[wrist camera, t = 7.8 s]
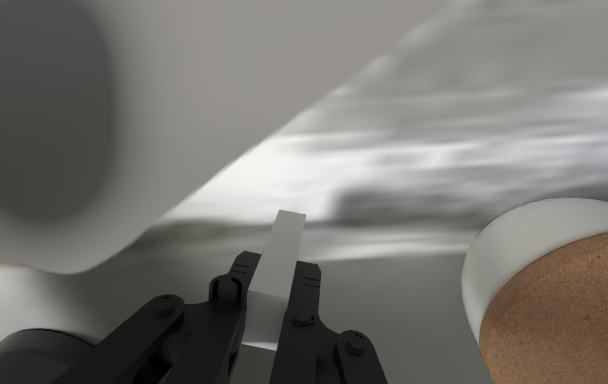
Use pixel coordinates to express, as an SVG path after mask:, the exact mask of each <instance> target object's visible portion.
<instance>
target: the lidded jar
mask: <svg viewBox="0 0 608 384" xmlns="http://www.w3.org/2000/svg"><path fill="white" fill-rule="evenodd" d="M461 291H462V297H463V302H464V308H465V312H466V315H467V318H468V322H469V324H470V327H471V329H472V331H473V334H474V336H475V339H476V341H477V343H478V346H479V348H480V351H481V356H482V358H483V361H484V363H485V365H486V368H487V370H488V372H489V374H490V377H491V379H492V381H493V382H494V383H495V384H608V202H607V201H601V200H595V199H586V198H553V199H545V200H540V201H535V202H531V203H527V204H524V205H521V206H519V207H516V208H514V209H512V210H510V211H507V212H505V213H503V214H502V215H500V216H499V217H497V218H496V219H494V220H493V221H492V222H490V223H489V224H488V225H487V226H486V227H485V228H484V229H483V230H482V231H481V232H480V233H479V234H478V235H477V236H476V238H475V239H474V241H473V243H472V244H471V246H470V248H469V250H468V252H467V255H466V257H465V259H464V263H463V268H462V276H461Z"/></svg>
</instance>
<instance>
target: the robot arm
mask: <svg viewBox="0 0 608 384" xmlns="http://www.w3.org/2000/svg"><path fill="white" fill-rule="evenodd" d="M305 217H306V215H305V214H299V213H294V212H289V211H284V210H279V212H278V215H277V217H276V220H275V222H274V225H273V227H272V230H271V232H270V235H269V238H268V240H267V243H266V245H265V248H264V250H263V253H262V254H258V253H253V252H248V251H244V252H242V253H241V254H239V255H238V256H237V257H236V259H235V261H234V263H233V265H232V267H231V269H230V271H229V272H228V274H226V275H220V276H218V277H216V278H214V279H213V280H212V281H211V282H210V284H209V301H207V302H204V303H199V304H185V303H184V301H183V299H181V298H180V297H179V296H176V295H172V294H168V295H161V296H158V297H155V298H154V299H152V300H150V301H149V302H148V303H146V304H145V305H144V306H143V307H142V308H140V309H139V310H138V311H137V312H136V313H134V314H133V315H132V316H131V317H130V318H129V319H127V320H126V321H125V322H124V323H123V324H121V325H120V326H119V327H118V328H117V329H115V330H114V331H113V332H112V333H111V334H109V335H108V336H107V337H106V338H105V339H103V340H102V341H101V342H100V343H99V344H97V345H96V346H95V347H92V346H90V345H88V344H86V343H84V342H82V341H80V340H78V339H75V338H73V337H70V336H67V335H64V334H60V333H56V332H51V331H44V330H26V331H20V332H16V333H13V334H11V335H9V336H7V337H6V338H4V339H3V340H2V341H1V342H0V384H229V382H230V379H231V376H232V373H233V370H234V367H235V364H236V361H237V358H238V351H239V346H240V343H241V340H242V344H246V345H251V346H255V347H260V348H265V349H270V350H275V351H276V355H275V360H274V364H273V369H272V374H271V378H270V383H269V384H388V383H387V380H386V377H385V375H384V372H383V370H382V367H381V364H380V362H379V359H378V357H377V354H376V352H375V349H374V346H373V344H372V343H371V341H370V340H369V339H368V338H367V337H366V336H365V335H364V334H362V333H360V332H358V331H353V330H348V331H344V332H342V333H341V334H338V333H336V332H334V331H332V330H330V329H328V328H327V327H326V326H325V325H324V324H323V323H322V322H321V320H320V318H319V315H318V308H319V295H320V281H321V271H320V269H319V267H318V265H317V264H312V263H307V262H302V261H297V260H298V255H299V249H300V244H301V239H302V233H303V228H304V223H305Z"/></svg>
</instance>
